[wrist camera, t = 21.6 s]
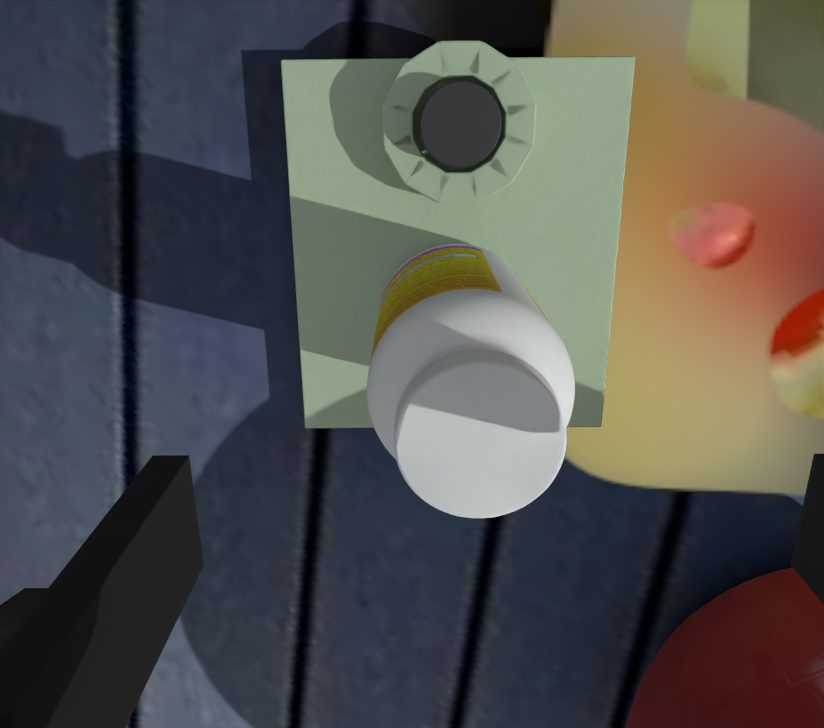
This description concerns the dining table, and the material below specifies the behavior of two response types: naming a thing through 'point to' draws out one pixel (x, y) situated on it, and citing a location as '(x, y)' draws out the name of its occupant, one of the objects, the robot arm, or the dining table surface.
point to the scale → (451, 201)
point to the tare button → (460, 124)
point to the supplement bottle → (469, 383)
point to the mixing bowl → (741, 662)
